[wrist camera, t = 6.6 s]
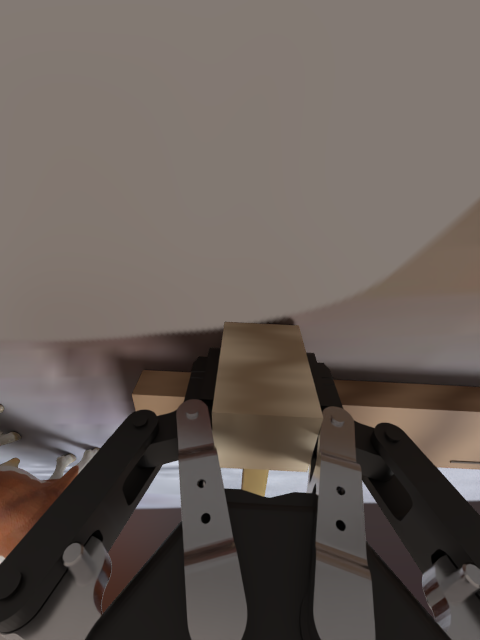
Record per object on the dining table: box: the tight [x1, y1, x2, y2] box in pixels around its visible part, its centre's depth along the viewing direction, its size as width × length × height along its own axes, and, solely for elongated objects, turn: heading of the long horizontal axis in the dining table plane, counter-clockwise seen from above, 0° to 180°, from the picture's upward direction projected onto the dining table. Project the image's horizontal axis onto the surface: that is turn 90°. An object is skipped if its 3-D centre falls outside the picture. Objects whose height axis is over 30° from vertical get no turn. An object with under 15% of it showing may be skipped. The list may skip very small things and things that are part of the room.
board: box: [132, 370, 480, 469], centre depth 18 cm, size 24×6×2 cm, turn 88°
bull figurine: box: [0, 405, 100, 564], centre depth 19 cm, size 4×13×8 cm, turn 44°
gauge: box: [212, 322, 323, 497], centre depth 15 cm, size 4×10×6 cm, turn 178°
